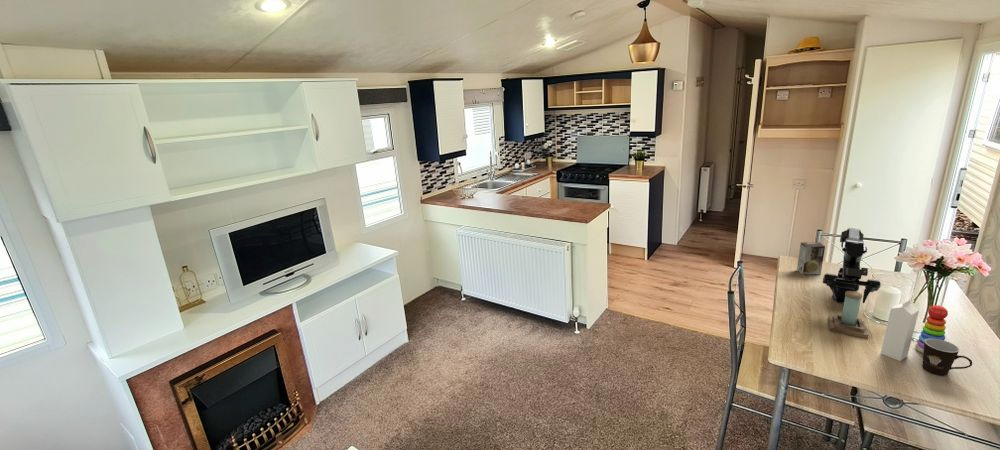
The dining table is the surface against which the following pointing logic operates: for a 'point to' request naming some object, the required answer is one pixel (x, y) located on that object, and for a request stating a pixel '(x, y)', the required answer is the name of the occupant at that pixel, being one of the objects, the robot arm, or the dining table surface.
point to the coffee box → (810, 258)
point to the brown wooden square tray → (847, 327)
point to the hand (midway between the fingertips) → (849, 300)
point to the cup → (851, 308)
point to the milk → (899, 331)
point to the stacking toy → (933, 326)
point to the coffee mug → (940, 356)
